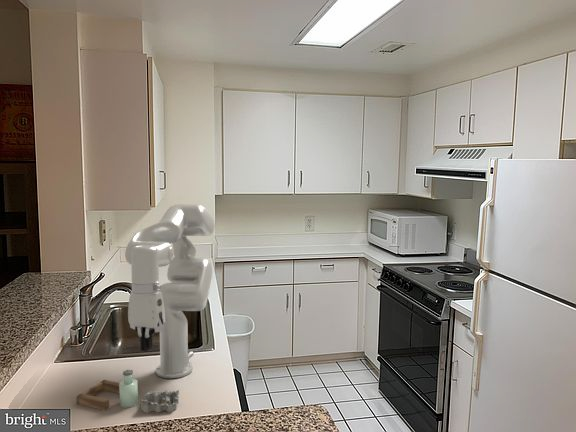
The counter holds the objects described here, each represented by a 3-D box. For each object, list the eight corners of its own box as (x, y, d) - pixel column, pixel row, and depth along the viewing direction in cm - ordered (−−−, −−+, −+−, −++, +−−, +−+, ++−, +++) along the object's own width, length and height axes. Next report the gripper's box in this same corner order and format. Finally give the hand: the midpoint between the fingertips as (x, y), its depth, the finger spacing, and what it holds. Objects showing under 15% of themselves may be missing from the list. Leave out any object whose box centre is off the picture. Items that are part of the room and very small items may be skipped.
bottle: (127, 397, 140) (126, 366, 139) (141, 400, 138) (140, 369, 137) (116, 406, 135) (114, 374, 134) (130, 408, 134) (129, 376, 133)
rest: (104, 386, 147) (104, 379, 147) (131, 392, 144) (130, 385, 143) (76, 403, 136) (76, 396, 136) (104, 410, 133) (104, 402, 133)
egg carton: (138, 414, 131) (138, 400, 131) (146, 401, 139) (145, 388, 138) (175, 413, 132) (175, 400, 131) (181, 400, 139) (180, 387, 139)
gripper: (174, 287, 132) (175, 348, 133) (132, 283, 137) (133, 342, 138) (159, 293, 125) (160, 357, 126) (115, 288, 130) (117, 350, 131)
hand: (146, 349), depth 132 cm, fingers closed
